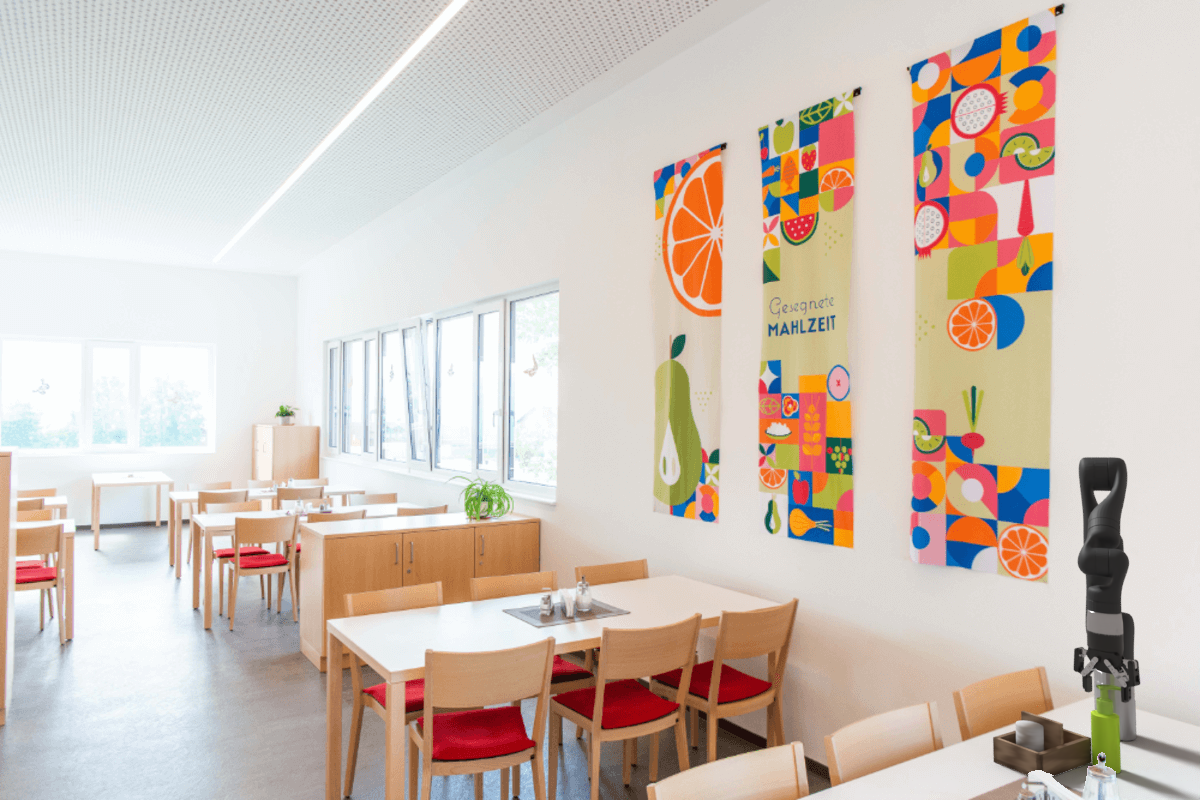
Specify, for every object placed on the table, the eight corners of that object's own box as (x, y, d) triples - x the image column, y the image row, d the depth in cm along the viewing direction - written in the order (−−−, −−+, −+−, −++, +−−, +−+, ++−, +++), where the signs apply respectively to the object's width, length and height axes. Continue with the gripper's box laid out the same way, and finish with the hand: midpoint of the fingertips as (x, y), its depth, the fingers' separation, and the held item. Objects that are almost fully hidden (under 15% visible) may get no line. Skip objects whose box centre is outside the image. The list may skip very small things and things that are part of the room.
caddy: (993, 761, 191) (992, 716, 192) (1044, 745, 201) (1043, 702, 202) (1040, 780, 181) (1039, 733, 181) (1091, 762, 191) (1090, 717, 191)
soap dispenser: (1130, 775, 184) (1127, 690, 185) (1098, 772, 185) (1096, 688, 186) (1119, 764, 189) (1116, 682, 190) (1088, 762, 191) (1085, 680, 192)
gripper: (1144, 634, 184) (1146, 703, 184) (1083, 621, 197) (1085, 686, 196) (1127, 638, 181) (1129, 708, 180) (1066, 625, 193) (1068, 690, 192)
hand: (1106, 696), depth 188 cm, fingers open, 8 cm apart
